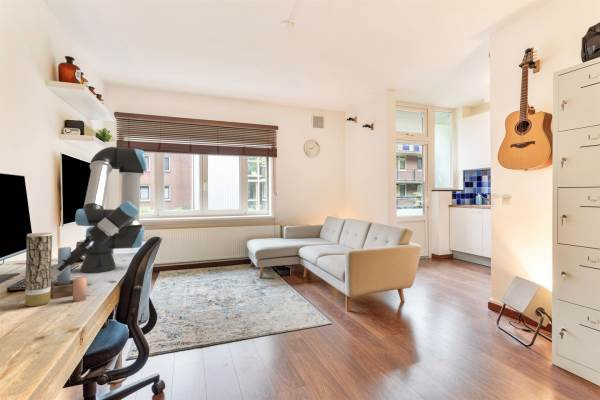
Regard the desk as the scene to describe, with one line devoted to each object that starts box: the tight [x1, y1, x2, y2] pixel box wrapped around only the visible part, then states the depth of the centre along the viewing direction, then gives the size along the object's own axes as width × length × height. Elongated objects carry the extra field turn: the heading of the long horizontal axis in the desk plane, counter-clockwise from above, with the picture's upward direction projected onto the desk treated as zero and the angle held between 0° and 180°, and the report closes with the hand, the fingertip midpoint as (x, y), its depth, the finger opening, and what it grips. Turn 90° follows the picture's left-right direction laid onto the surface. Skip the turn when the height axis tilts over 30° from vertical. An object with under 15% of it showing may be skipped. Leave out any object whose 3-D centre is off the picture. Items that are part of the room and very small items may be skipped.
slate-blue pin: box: [56, 246, 72, 286], centre depth 117 cm, size 4×4×16 cm
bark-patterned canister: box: [24, 232, 53, 307], centre depth 106 cm, size 7×7×25 cm
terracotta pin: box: [72, 276, 88, 303], centre depth 111 cm, size 4×4×8 cm
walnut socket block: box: [50, 278, 74, 300], centre depth 117 cm, size 10×10×4 cm
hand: (51, 275), depth 115 cm, fingers closed on slate-blue pin, 4 cm apart
